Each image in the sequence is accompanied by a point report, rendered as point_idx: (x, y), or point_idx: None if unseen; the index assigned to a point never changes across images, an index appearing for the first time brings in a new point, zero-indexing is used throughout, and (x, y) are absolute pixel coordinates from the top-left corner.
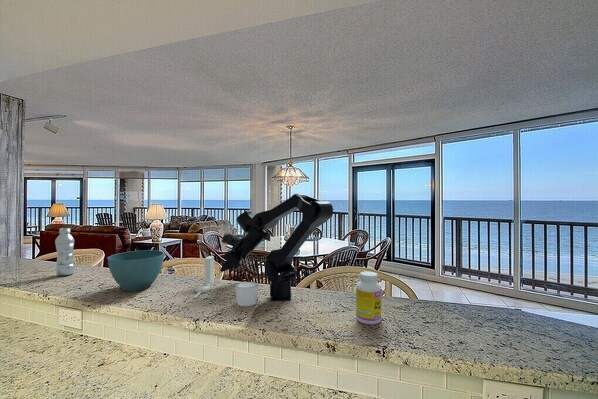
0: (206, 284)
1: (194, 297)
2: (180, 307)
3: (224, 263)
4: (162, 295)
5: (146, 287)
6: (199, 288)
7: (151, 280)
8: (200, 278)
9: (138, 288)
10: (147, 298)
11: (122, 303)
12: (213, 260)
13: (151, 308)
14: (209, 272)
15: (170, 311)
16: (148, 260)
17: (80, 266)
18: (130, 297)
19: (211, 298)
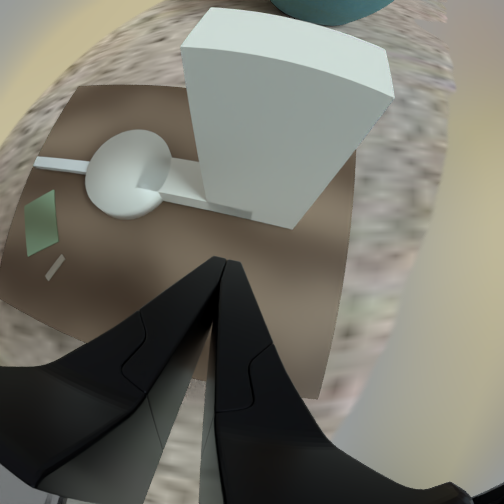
0: (179, 180)
1: (36, 160)
2: (44, 135)
3: (134, 313)
4: None
5: (292, 14)
6: (110, 152)
7: (292, 2)
8: (434, 169)
9: (272, 2)
10: (186, 29)
11: (167, 7)
12: (357, 133)
13: (84, 65)
14: (202, 155)
15: (32, 119)
16: None
17: (439, 2)
18: (214, 5)
19: None
